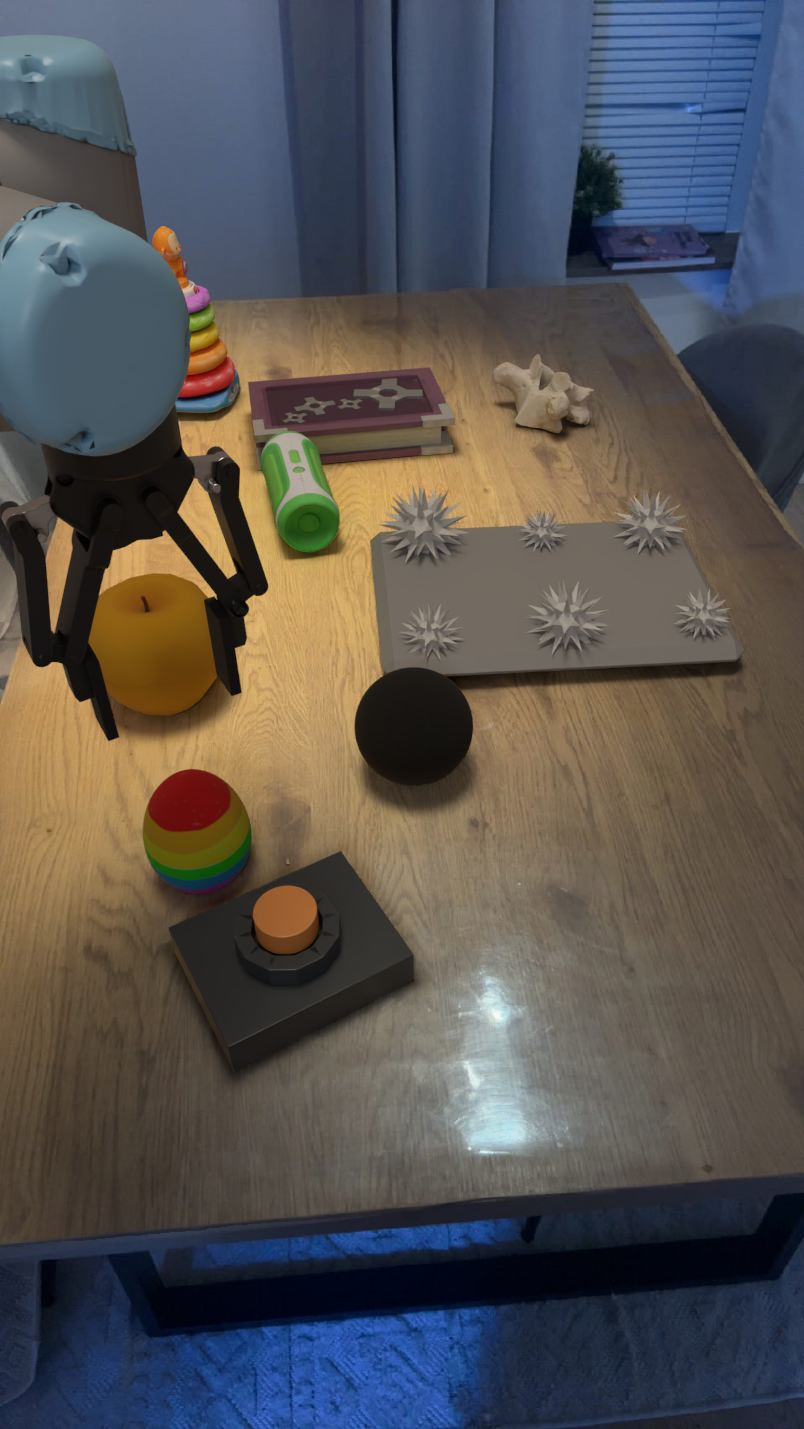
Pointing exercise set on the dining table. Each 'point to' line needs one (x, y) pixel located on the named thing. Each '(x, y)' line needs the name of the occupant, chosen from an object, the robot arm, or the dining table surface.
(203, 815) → the decorative egg
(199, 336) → the stacking toy
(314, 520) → the speaker
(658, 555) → the decorative tray
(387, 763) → the decorative ball
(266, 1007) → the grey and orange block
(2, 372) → the robot arm
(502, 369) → the decorative object
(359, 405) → the book
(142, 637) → the apple
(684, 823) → the dining table surface
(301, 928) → the orange button
